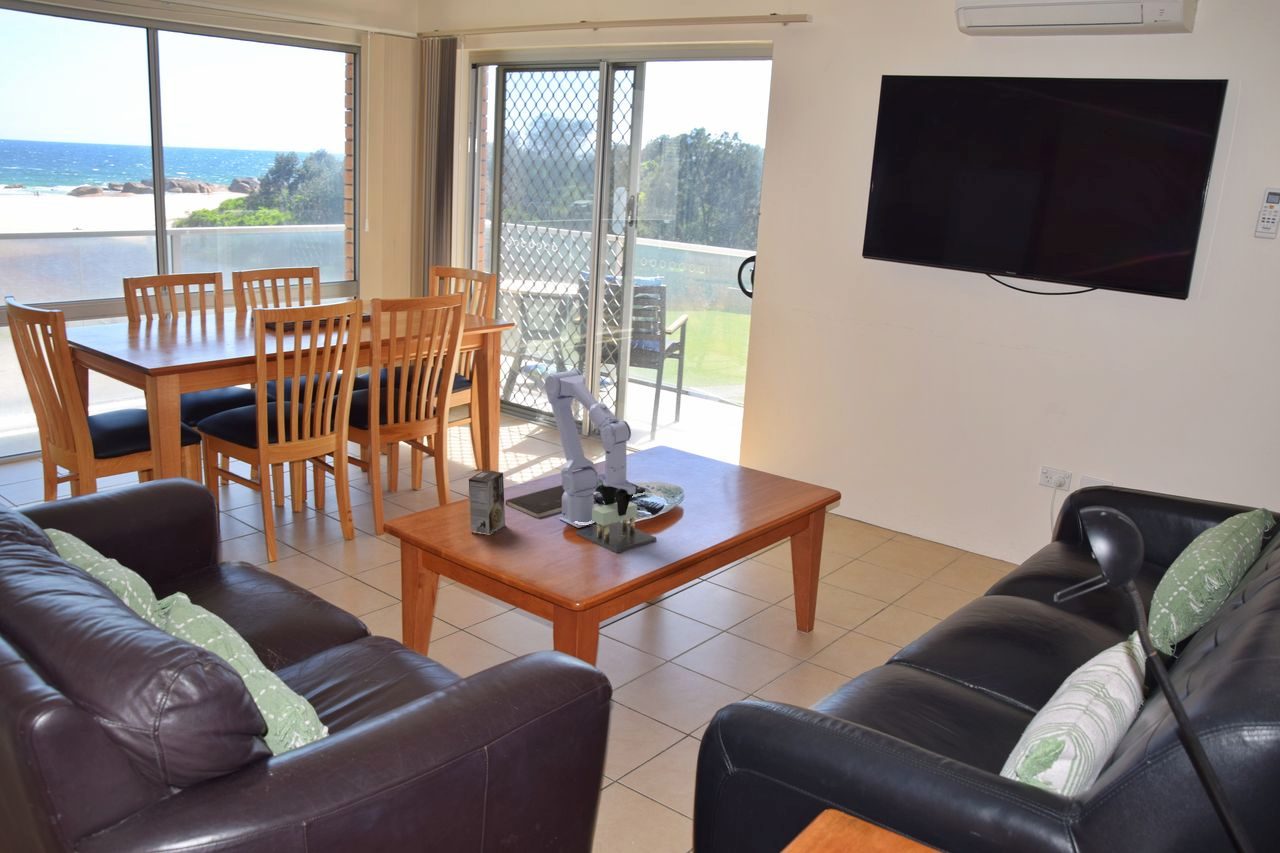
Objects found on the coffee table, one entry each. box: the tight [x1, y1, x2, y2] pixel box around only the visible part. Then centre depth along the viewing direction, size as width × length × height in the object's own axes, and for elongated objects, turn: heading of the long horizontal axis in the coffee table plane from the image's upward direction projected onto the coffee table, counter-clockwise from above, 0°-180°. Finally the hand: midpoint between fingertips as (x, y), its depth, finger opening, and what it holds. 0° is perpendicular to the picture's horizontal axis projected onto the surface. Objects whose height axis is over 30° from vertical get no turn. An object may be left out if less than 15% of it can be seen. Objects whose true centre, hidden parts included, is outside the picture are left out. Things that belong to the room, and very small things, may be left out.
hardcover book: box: [505, 484, 597, 519], centre depth 314 cm, size 16×23×2 cm
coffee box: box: [468, 469, 506, 534], centre depth 290 cm, size 9×6×16 cm
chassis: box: [575, 517, 657, 554], centre depth 286 cm, size 18×14×5 cm
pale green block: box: [592, 501, 638, 526], centre depth 284 cm, size 5×12×4 cm, turn 130°
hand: (615, 512), depth 284 cm, fingers closed on pale green block, 5 cm apart
